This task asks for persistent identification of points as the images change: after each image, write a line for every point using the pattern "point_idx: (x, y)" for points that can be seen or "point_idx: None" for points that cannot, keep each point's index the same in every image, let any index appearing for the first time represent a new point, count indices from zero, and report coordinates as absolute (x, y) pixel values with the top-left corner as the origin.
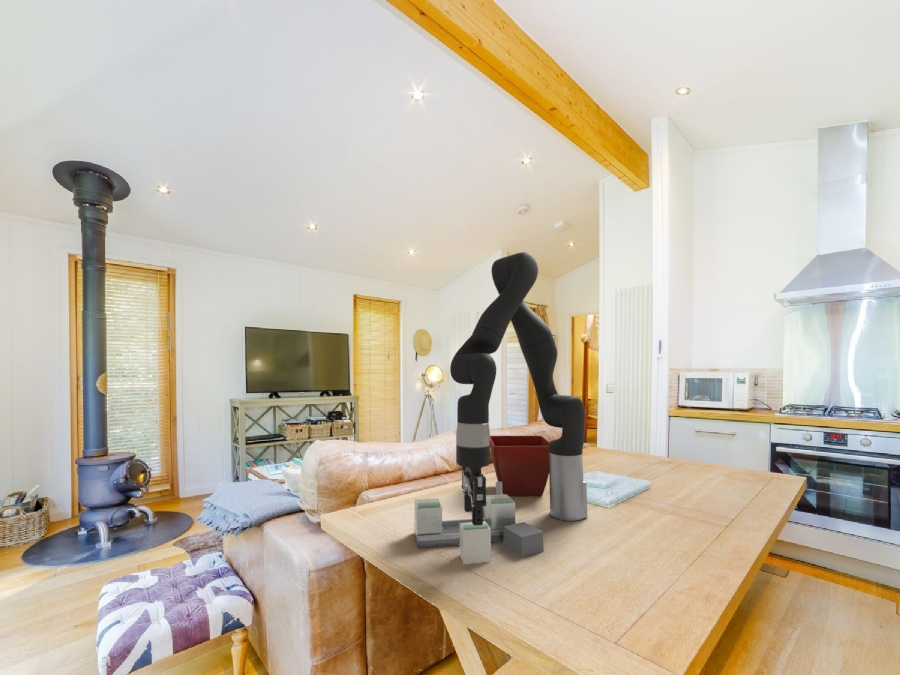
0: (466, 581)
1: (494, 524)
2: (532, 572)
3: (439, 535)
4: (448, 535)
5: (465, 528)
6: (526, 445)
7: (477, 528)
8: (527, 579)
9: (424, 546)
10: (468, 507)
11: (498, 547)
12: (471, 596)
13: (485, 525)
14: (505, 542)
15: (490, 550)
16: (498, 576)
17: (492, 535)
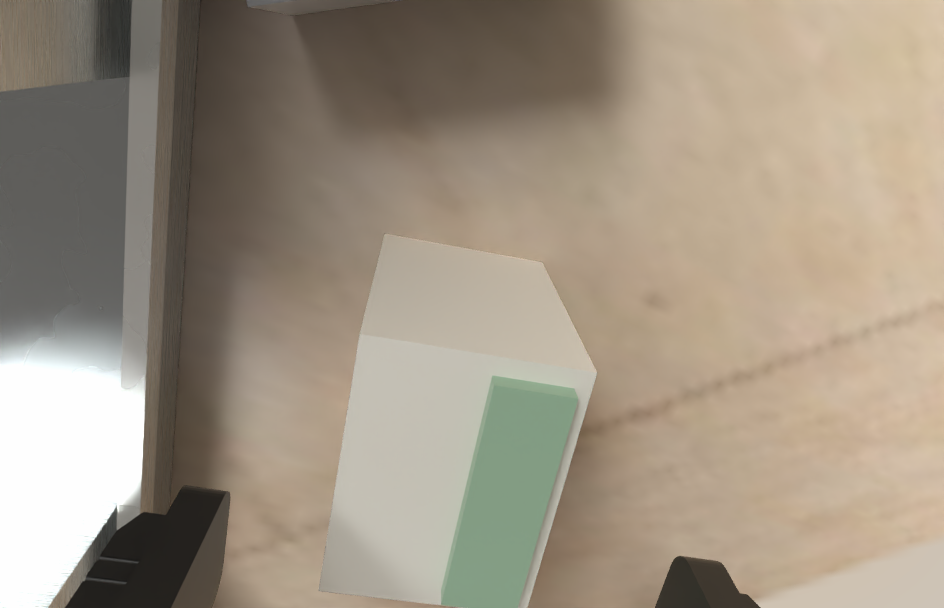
0: (697, 492)
1: (83, 42)
2: (826, 43)
3: None
4: (143, 489)
5: (517, 604)
6: None
7: (546, 497)
8: (882, 138)
9: None
10: (205, 586)
11: (317, 84)
12: (845, 517)
13: (542, 417)
14: (317, 9)
15: (555, 294)
16: (744, 302)
17: (174, 89)
